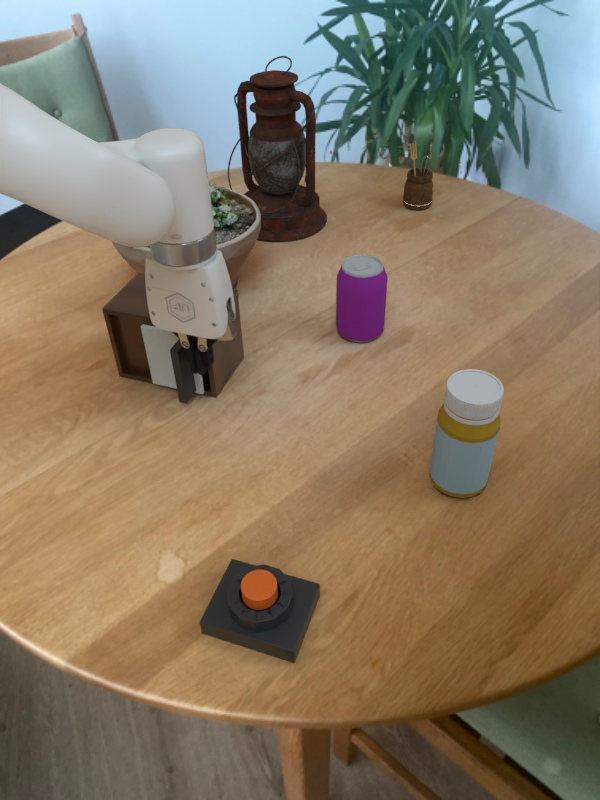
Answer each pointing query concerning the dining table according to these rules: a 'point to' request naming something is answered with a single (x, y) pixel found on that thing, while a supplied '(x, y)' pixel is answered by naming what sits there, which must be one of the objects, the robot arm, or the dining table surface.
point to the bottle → (466, 433)
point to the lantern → (279, 156)
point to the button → (259, 589)
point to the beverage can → (361, 298)
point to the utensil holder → (418, 184)
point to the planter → (218, 231)
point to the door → (170, 363)
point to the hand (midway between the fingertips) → (202, 367)
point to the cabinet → (133, 312)
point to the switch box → (261, 613)
